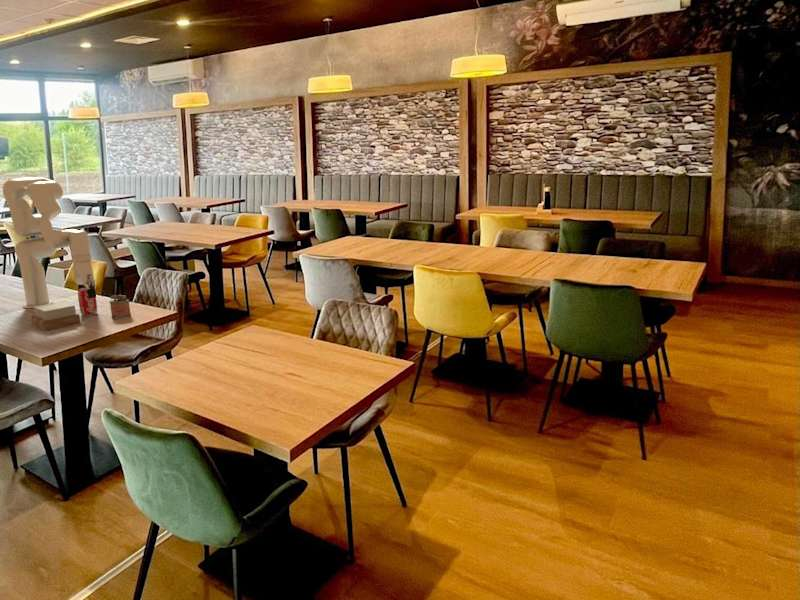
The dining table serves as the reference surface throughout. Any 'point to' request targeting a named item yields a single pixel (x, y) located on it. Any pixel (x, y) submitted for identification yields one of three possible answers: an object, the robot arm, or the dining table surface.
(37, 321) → the tower base
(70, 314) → the tower top
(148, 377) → the dining table surface
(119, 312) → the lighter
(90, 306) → the soda can
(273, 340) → the dining table surface
